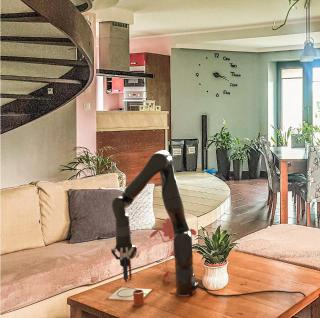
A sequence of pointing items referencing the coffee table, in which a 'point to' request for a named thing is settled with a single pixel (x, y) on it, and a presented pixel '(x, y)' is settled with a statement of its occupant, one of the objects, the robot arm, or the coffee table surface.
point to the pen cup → (138, 297)
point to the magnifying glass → (130, 260)
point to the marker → (125, 268)
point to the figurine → (169, 232)
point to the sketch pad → (127, 293)
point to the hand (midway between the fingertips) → (125, 265)
